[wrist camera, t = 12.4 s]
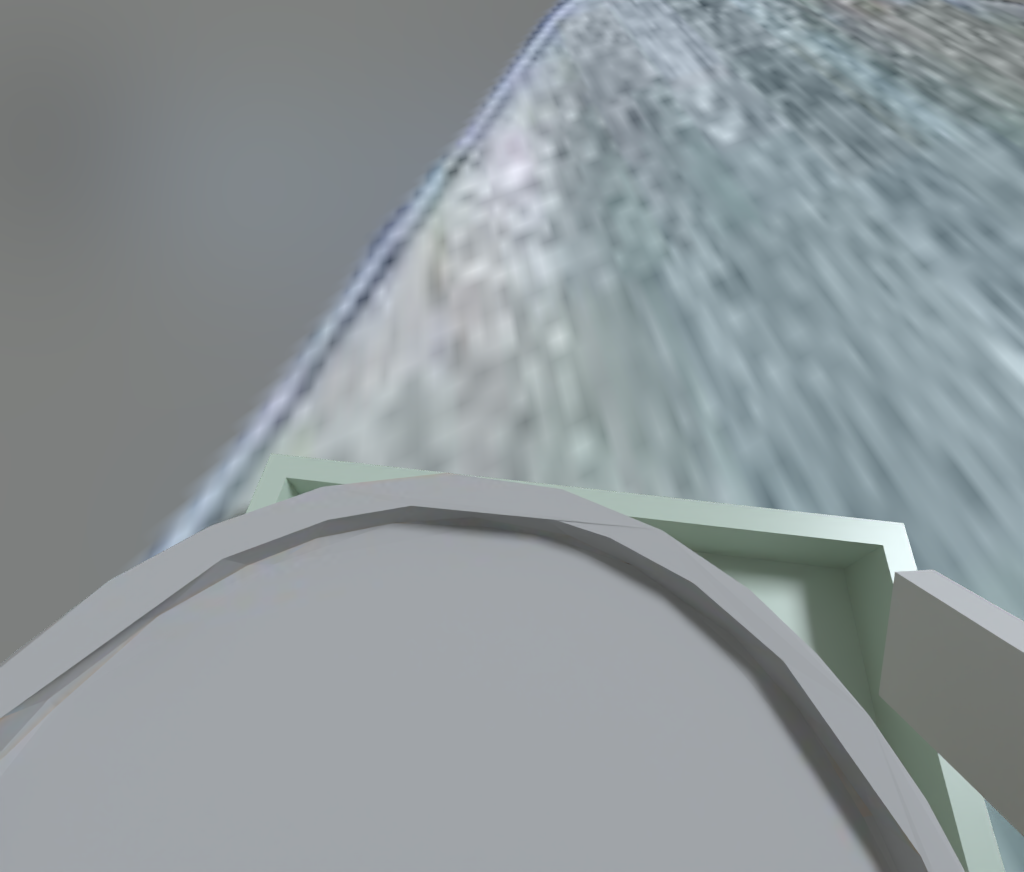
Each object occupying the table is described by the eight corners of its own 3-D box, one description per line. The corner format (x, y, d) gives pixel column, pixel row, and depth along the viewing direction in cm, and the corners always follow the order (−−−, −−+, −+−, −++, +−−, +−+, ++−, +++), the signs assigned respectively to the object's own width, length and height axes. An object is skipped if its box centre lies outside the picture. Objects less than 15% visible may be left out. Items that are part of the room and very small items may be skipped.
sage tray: (850, 557, 19) (903, 523, 16) (1031, 1355, 10) (1203, 1550, 8) (301, 493, 20) (271, 453, 17) (55, 1157, 11) (-75, 1267, 9)
